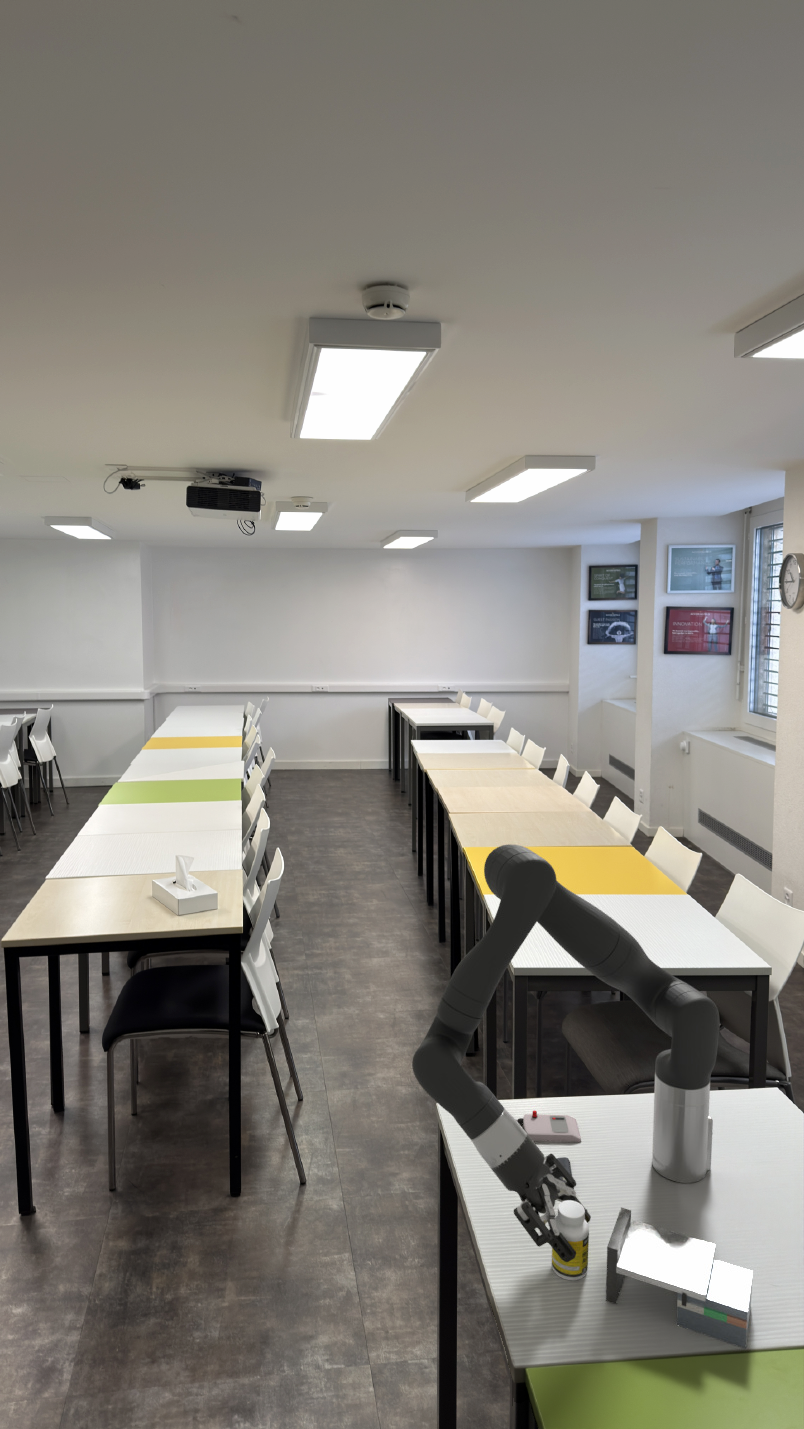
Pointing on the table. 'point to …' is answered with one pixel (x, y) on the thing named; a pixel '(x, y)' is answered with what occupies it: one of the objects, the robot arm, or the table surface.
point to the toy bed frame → (657, 1259)
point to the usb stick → (565, 1166)
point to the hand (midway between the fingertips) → (579, 1239)
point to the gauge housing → (721, 1305)
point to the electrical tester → (550, 1127)
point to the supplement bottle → (572, 1240)
